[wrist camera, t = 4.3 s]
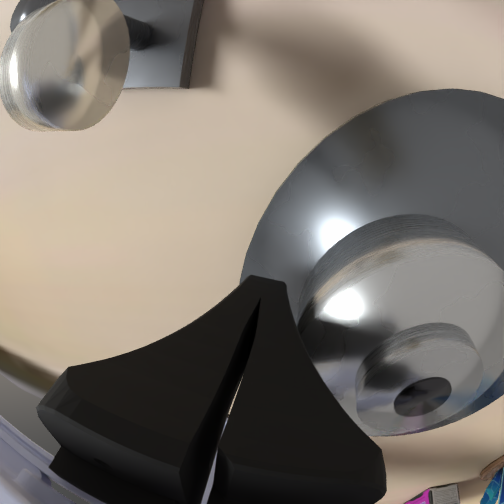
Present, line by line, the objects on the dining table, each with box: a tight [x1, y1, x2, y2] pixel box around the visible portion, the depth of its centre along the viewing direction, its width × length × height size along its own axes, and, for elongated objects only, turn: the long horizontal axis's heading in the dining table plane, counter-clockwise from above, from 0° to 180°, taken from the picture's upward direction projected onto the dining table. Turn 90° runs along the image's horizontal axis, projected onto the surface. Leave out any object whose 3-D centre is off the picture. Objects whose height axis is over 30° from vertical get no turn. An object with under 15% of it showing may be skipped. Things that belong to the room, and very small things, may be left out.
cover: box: [296, 214, 504, 436], centre depth 8 cm, size 8×8×4 cm
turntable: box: [240, 89, 504, 436], centre depth 9 cm, size 18×21×4 cm
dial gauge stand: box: [0, 0, 204, 132], centre depth 6 cm, size 5×4×7 cm
